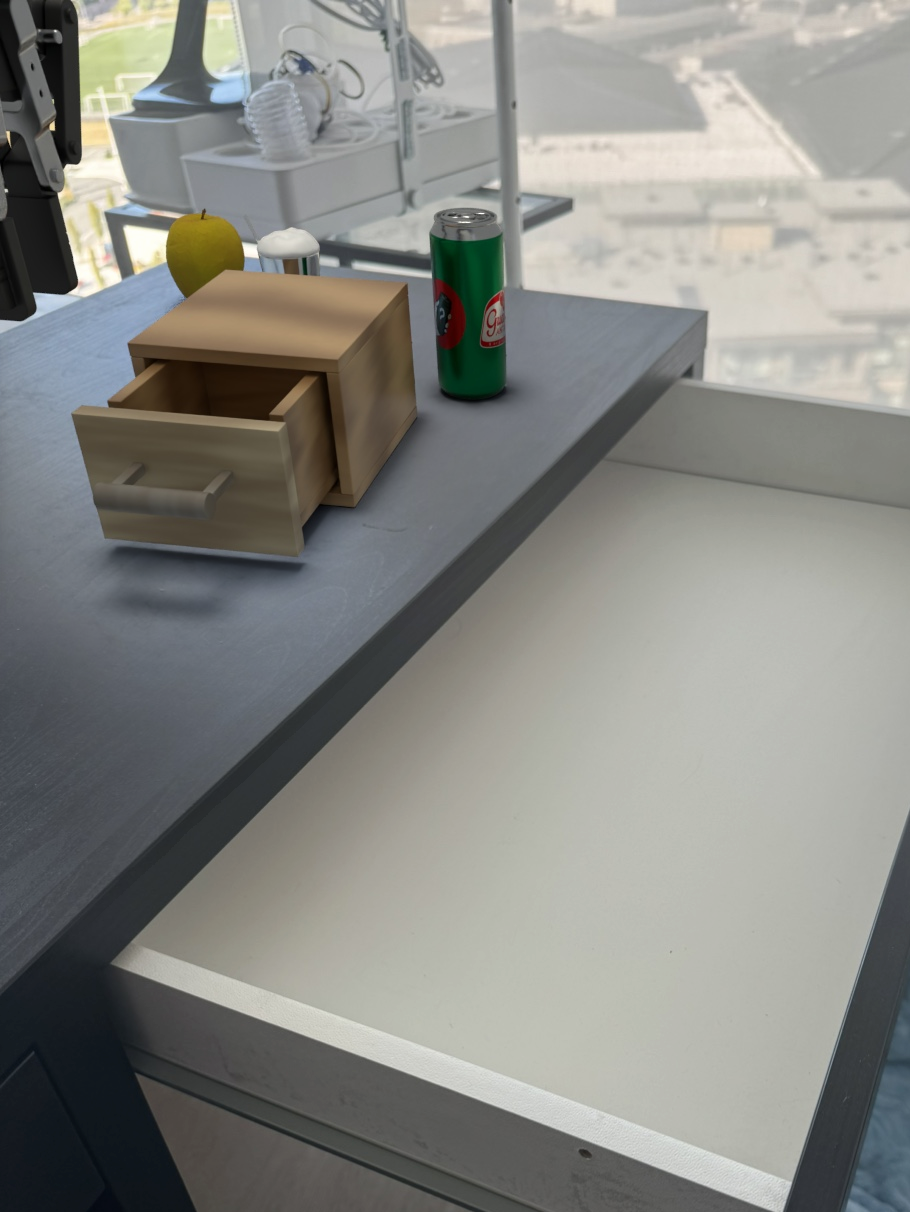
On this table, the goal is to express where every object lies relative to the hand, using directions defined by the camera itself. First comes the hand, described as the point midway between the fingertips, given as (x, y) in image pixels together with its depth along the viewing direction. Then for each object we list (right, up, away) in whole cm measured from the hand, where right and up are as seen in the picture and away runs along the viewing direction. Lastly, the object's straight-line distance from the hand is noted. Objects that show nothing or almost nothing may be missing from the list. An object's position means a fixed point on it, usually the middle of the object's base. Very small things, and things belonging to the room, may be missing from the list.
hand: (30, 302), depth 48 cm
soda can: (+14, +10, +39) cm, 43 cm away
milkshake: (0, +14, +44) cm, 46 cm away
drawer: (+2, -4, +21) cm, 21 cm away
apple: (-9, +21, +52) cm, 57 cm away
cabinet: (+3, +3, +30) cm, 30 cm away
